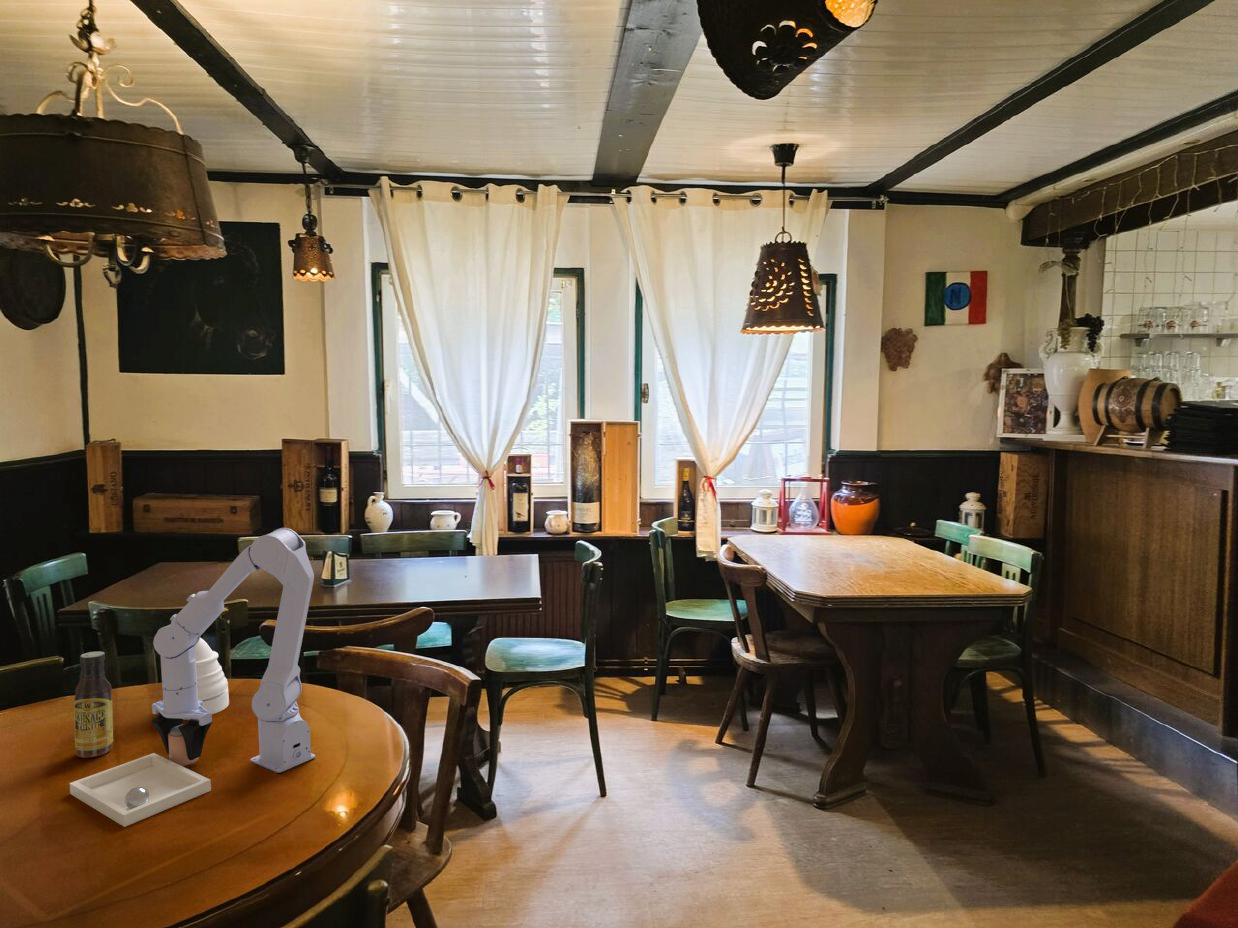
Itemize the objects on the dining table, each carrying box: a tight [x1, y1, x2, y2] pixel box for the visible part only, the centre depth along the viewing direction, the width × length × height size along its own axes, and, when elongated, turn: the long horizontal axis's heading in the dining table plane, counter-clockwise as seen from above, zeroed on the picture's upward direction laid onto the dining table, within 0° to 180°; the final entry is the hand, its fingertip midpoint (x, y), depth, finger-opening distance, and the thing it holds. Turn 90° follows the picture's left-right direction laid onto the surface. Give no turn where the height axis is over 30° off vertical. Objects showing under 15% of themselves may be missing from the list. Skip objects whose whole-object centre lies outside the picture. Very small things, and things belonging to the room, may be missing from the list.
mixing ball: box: [125, 787, 149, 809], centre depth 130 cm, size 4×4×4 cm
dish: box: [69, 752, 212, 828], centre depth 136 cm, size 20×14×2 cm
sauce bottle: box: [73, 651, 114, 759], centre depth 153 cm, size 6×6×20 cm
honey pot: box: [183, 637, 230, 721], centre depth 175 cm, size 13×13×18 cm
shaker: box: [168, 723, 200, 767], centre depth 148 cm, size 5×5×7 cm
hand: (184, 754), depth 148 cm, fingers open, 6 cm apart
